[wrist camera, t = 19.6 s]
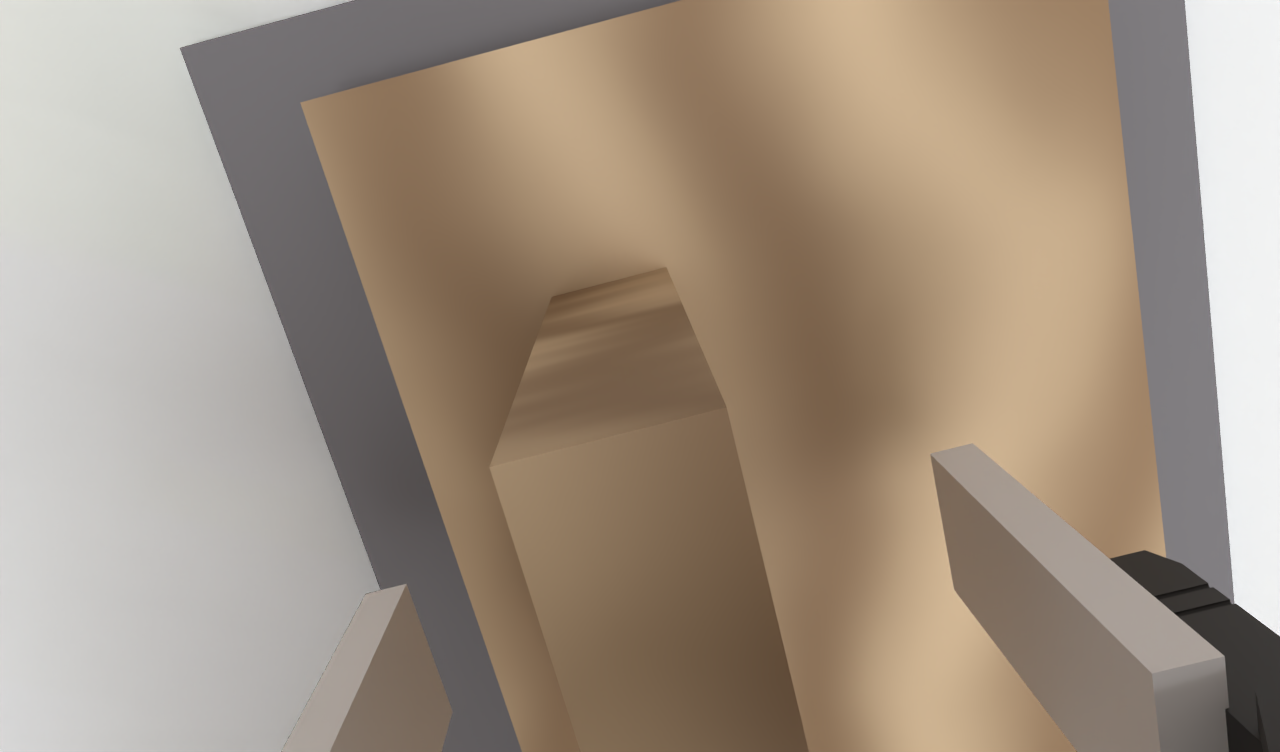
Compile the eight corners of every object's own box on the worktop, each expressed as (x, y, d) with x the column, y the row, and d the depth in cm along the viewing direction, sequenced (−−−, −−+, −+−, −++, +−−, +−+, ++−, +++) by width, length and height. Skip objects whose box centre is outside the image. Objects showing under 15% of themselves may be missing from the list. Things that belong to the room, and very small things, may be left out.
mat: (496, 880, 26) (494, 897, 26) (192, 50, 20) (180, 48, 20) (1229, 707, 26) (1243, 720, 25) (1149, -210, 19) (1166, -221, 19)
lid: (573, 819, 25) (540, 1446, 13) (337, 106, 20) (-80, 60, 8) (1129, 687, 25) (1628, 1216, 13) (1035, -81, 19) (1737, -438, 7)
